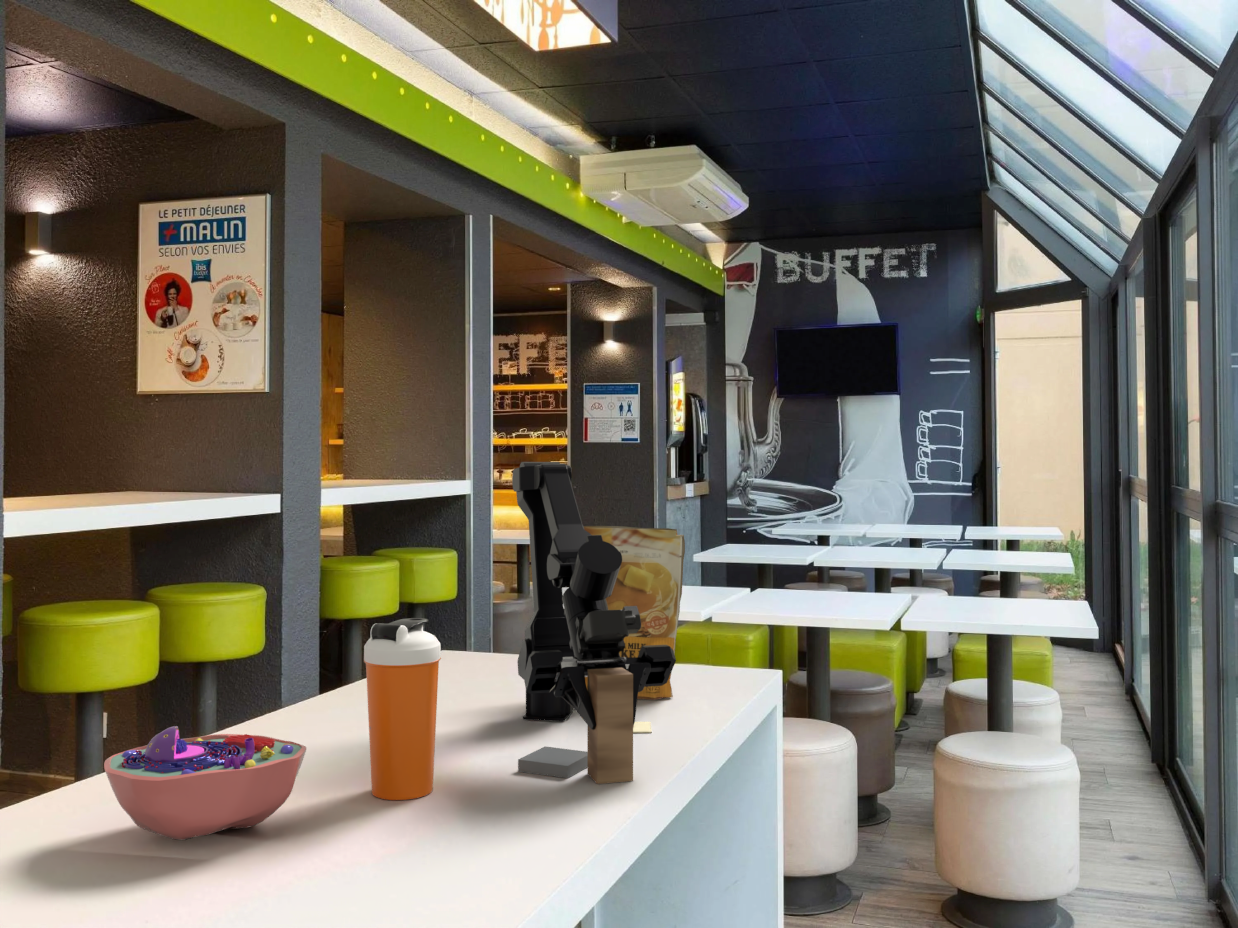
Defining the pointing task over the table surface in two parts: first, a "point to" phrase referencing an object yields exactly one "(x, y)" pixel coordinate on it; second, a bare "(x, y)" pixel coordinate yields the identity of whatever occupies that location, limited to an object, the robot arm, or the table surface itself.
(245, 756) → the cell model
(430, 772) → the shaker bottle
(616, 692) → the pillar
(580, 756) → the base plate
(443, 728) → the table surface
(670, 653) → the robot arm
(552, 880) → the table surface
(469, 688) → the table surface
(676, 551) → the pancake mix bag
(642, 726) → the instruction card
